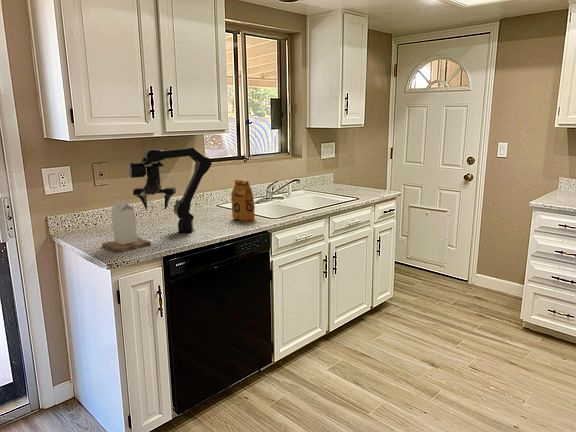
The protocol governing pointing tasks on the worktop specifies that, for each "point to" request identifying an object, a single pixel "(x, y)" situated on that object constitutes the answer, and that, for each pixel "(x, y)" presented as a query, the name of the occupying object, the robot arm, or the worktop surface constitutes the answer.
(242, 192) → the coffee package
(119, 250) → the cutting board
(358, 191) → the worktop surface
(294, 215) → the worktop surface
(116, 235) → the milk carton
